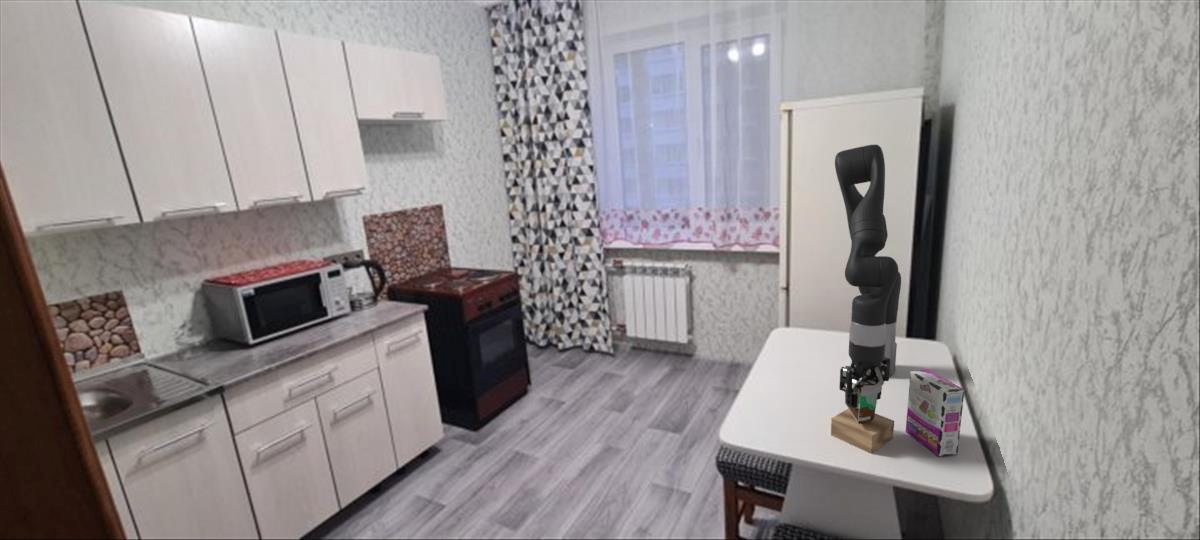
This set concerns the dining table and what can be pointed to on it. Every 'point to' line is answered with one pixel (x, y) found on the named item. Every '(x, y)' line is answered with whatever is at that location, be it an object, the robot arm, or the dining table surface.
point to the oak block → (862, 431)
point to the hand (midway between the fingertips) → (863, 402)
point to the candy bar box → (934, 412)
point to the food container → (865, 400)
